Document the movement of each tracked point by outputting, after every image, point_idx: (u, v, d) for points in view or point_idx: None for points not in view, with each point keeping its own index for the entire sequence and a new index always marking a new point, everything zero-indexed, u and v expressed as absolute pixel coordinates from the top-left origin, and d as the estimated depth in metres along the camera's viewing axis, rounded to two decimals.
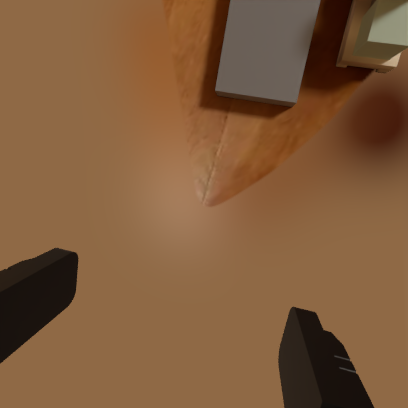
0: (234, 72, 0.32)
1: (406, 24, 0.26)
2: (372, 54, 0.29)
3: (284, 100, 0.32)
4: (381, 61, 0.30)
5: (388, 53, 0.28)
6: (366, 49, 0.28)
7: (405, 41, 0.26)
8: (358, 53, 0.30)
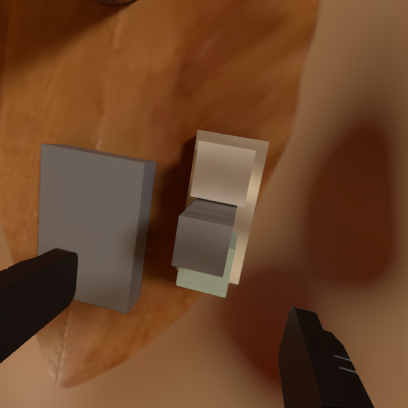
0: None
1: None
2: None
3: (114, 309, 0.26)
4: None
5: None
6: None
7: (220, 291, 0.20)
8: None
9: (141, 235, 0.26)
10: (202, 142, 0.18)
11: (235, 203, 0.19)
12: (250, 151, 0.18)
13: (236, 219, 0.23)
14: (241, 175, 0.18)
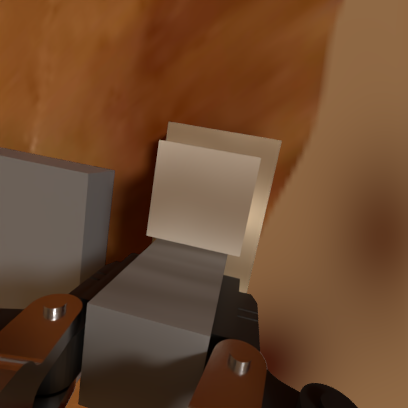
0: None
1: None
2: None
3: None
4: None
5: None
6: None
7: None
8: None
9: None
10: (165, 143, 0.10)
11: (224, 250, 0.11)
12: (250, 159, 0.10)
13: (229, 260, 0.15)
14: (234, 201, 0.10)
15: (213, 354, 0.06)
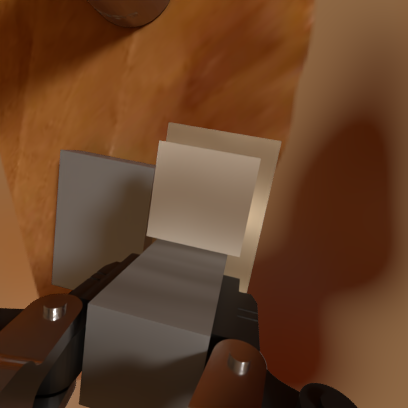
0: (68, 268, 0.29)
1: None
2: None
3: None
4: None
5: None
6: None
7: None
8: None
9: None
10: (165, 143, 0.10)
11: (224, 250, 0.11)
12: (250, 160, 0.10)
13: (229, 260, 0.15)
14: (234, 202, 0.10)
15: (213, 354, 0.06)
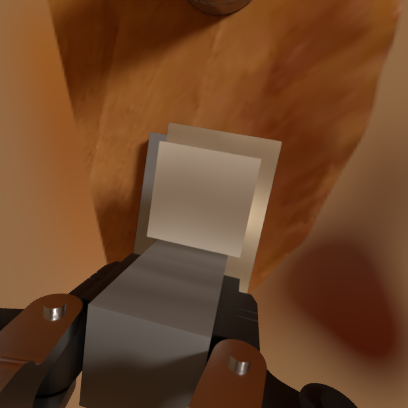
0: None
1: None
2: None
3: None
4: None
5: None
6: None
7: None
8: None
9: None
10: (165, 144, 0.10)
11: (224, 251, 0.11)
12: (251, 160, 0.10)
13: (229, 261, 0.15)
14: (234, 202, 0.10)
15: (213, 354, 0.06)
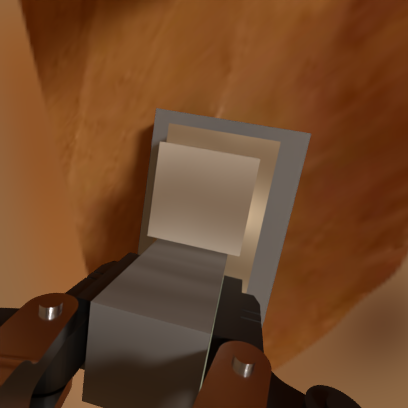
0: None
1: None
2: None
3: None
4: None
5: None
6: None
7: (200, 386, 0.12)
8: None
9: None
10: (166, 144, 0.10)
11: (224, 250, 0.11)
12: (250, 161, 0.10)
13: (229, 260, 0.15)
14: (234, 202, 0.10)
15: (217, 356, 0.06)
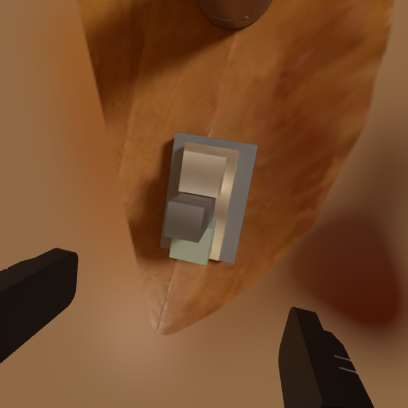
0: None
1: (200, 247, 0.27)
2: None
3: (223, 260, 0.34)
4: None
5: None
6: None
7: (202, 260, 0.27)
8: None
9: None
10: (186, 151, 0.26)
11: (211, 195, 0.26)
12: (220, 158, 0.25)
13: (215, 209, 0.30)
14: (214, 175, 0.26)
15: None
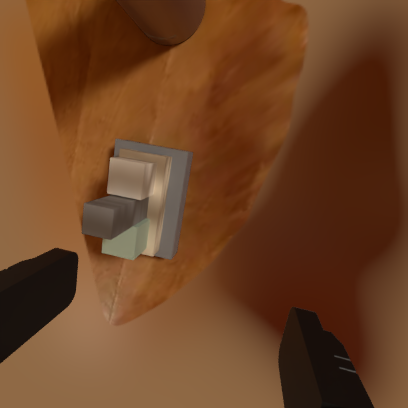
0: None
1: (127, 243, 0.30)
2: None
3: (161, 256, 0.37)
4: None
5: None
6: None
7: (129, 256, 0.31)
8: None
9: (182, 203, 0.37)
10: (112, 158, 0.29)
11: (135, 197, 0.29)
12: (141, 164, 0.28)
13: (148, 210, 0.33)
14: (137, 179, 0.29)
15: None
